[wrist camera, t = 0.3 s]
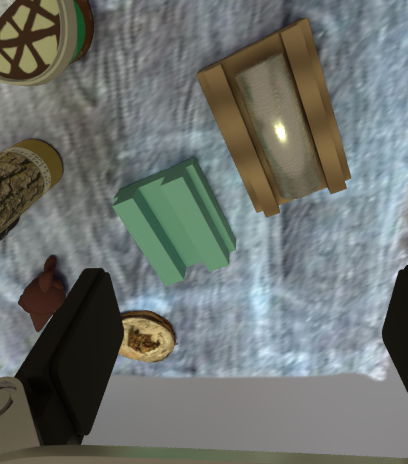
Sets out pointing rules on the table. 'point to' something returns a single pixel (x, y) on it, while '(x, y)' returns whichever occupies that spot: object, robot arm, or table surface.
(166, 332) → the tan round flat disc
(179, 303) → the table surface
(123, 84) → the table surface
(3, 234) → the storage jar
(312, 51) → the wooden channel block
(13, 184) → the bark patterned canister
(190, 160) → the v block
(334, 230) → the table surface
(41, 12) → the food container
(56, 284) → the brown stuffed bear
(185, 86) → the table surface
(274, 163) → the axle
